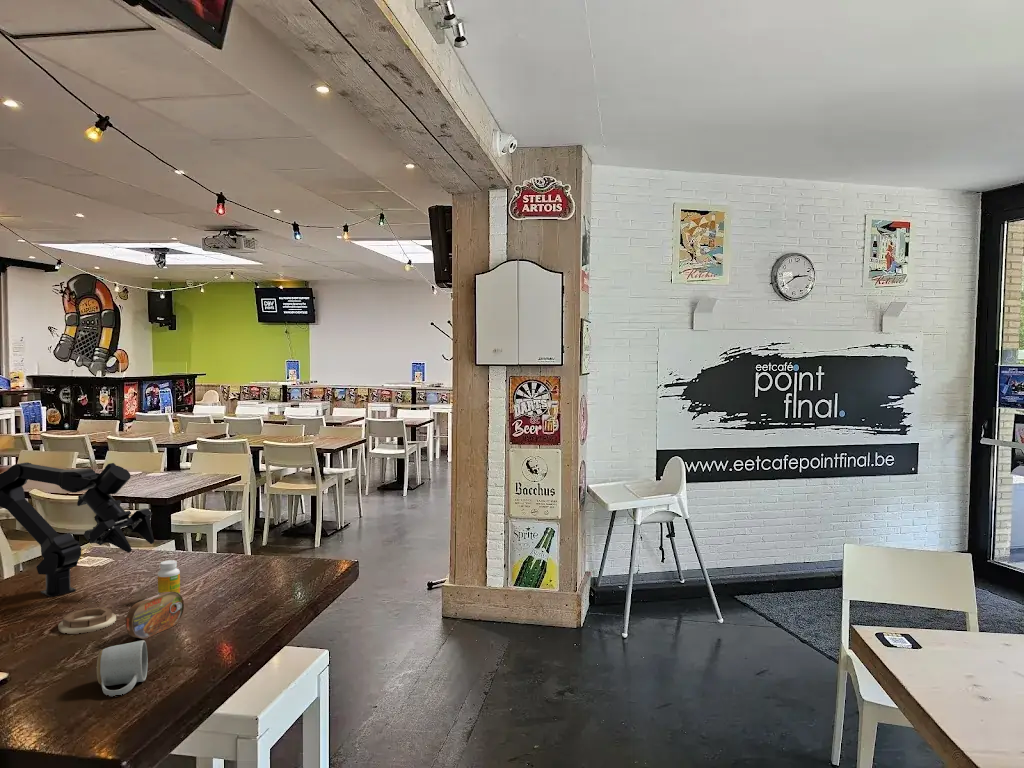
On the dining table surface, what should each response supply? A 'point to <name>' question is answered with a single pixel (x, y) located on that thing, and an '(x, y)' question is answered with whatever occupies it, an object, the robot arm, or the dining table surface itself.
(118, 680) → the ceramic mug
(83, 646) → the dining table surface
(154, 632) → the tin
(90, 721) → the dining table surface
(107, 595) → the dining table surface
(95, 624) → the collar stand
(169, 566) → the supplement bottle
